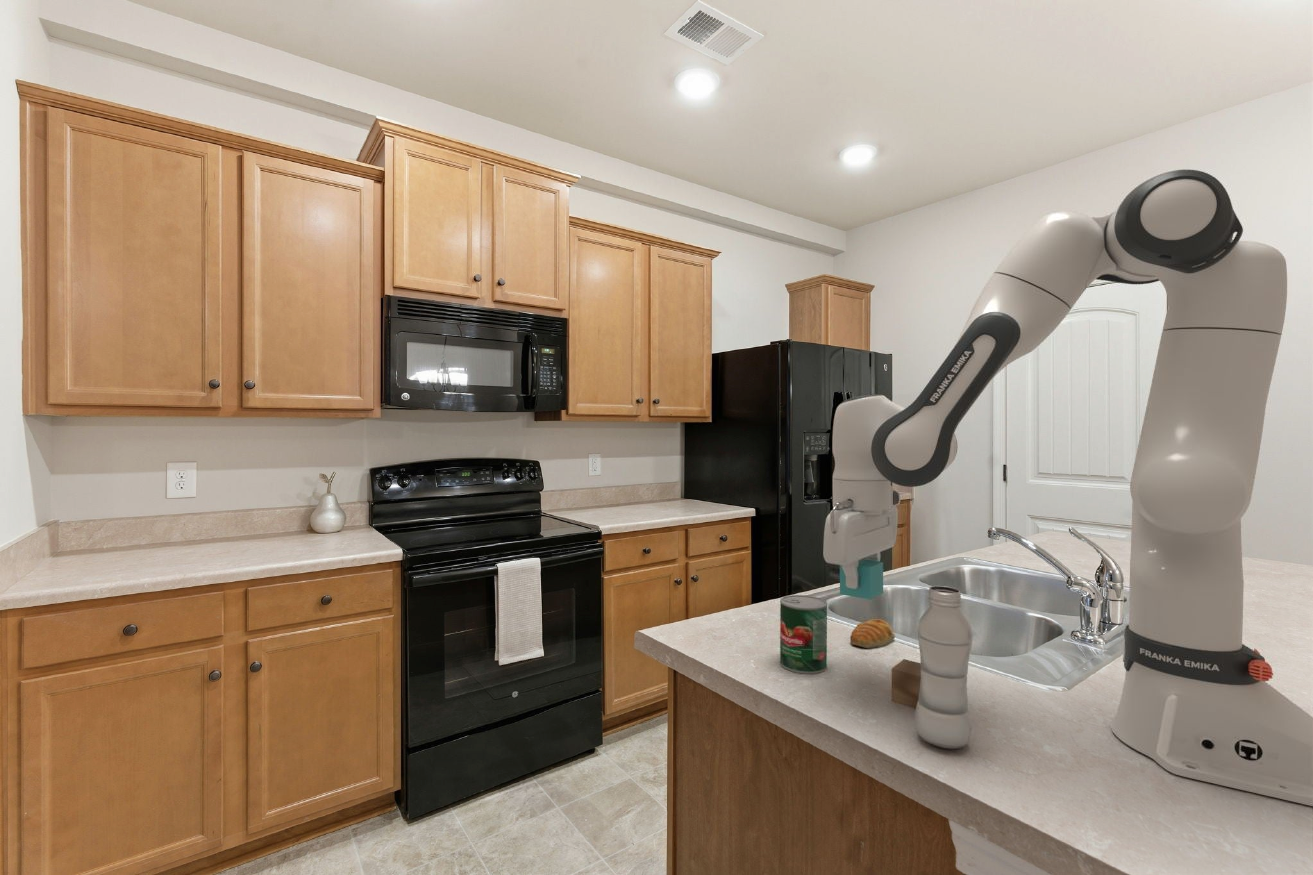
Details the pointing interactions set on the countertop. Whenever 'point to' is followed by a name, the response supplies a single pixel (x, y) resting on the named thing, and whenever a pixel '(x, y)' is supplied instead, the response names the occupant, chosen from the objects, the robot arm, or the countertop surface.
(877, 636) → the pastry
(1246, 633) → the countertop surface
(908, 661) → the walnut block
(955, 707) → the plastic bottle
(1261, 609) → the countertop surface
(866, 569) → the teal block
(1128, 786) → the countertop surface
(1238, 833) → the countertop surface
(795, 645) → the canned tomato
